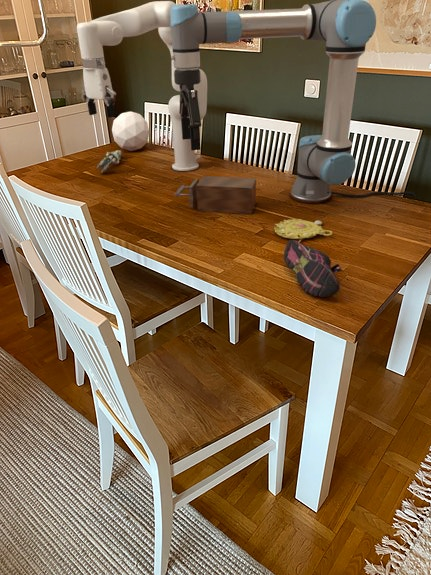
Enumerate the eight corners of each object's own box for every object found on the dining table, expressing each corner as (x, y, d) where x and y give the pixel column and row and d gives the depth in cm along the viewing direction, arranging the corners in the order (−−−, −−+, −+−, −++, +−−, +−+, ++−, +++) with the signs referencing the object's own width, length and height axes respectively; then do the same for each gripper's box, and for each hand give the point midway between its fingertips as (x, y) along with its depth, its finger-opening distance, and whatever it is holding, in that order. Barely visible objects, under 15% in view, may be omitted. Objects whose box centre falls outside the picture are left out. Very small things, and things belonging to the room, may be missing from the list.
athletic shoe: (326, 286, 106) (365, 278, 110) (286, 224, 118) (323, 219, 122) (310, 314, 115) (347, 305, 119) (274, 254, 127) (309, 248, 131)
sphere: (125, 161, 242) (105, 129, 240) (156, 144, 244) (137, 111, 242) (123, 152, 223) (102, 117, 221) (157, 133, 225) (136, 98, 223)
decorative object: (286, 211, 157) (342, 219, 147) (286, 217, 158) (341, 226, 148) (260, 233, 142) (319, 243, 133) (260, 240, 144) (319, 251, 134)
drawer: (175, 206, 166) (173, 186, 162) (182, 197, 174) (180, 178, 169) (240, 210, 161) (240, 189, 157) (244, 200, 169) (244, 181, 164)
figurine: (101, 154, 197) (119, 141, 223) (91, 167, 200) (110, 152, 227) (114, 165, 199) (130, 151, 225) (103, 178, 203) (121, 162, 229)
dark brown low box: (197, 210, 164) (196, 185, 159) (204, 200, 173) (203, 175, 168) (251, 214, 160) (251, 188, 155) (255, 203, 169) (256, 178, 164)
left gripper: (119, 63, 151) (125, 116, 160) (86, 61, 160) (94, 111, 169) (102, 66, 146) (110, 120, 155) (69, 64, 155) (78, 115, 164)
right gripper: (166, 64, 136) (172, 135, 147) (182, 74, 115) (187, 156, 127) (190, 63, 137) (194, 133, 149) (210, 72, 117) (212, 153, 128)
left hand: (102, 115), depth 162 cm, fingers open, 9 cm apart
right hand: (191, 144), depth 138 cm, fingers open, 13 cm apart
